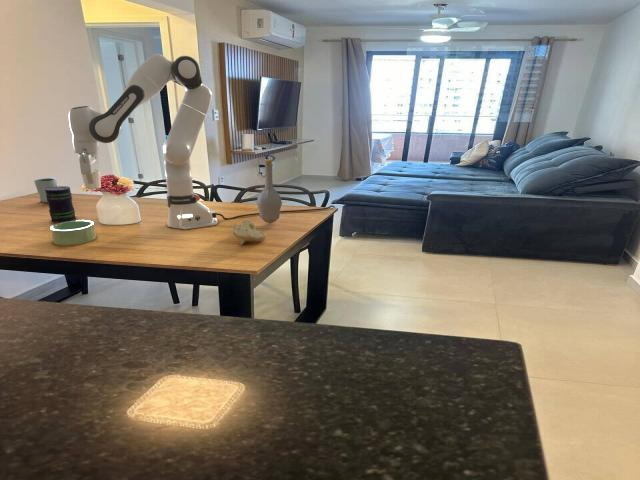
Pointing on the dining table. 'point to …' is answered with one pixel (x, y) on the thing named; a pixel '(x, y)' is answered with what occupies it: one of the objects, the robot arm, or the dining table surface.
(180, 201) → the robot arm
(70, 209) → the storage jar
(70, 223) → the green round shallow bowl
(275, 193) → the bottle
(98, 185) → the shot glass
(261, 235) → the grey beige rock
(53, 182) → the grey cup
